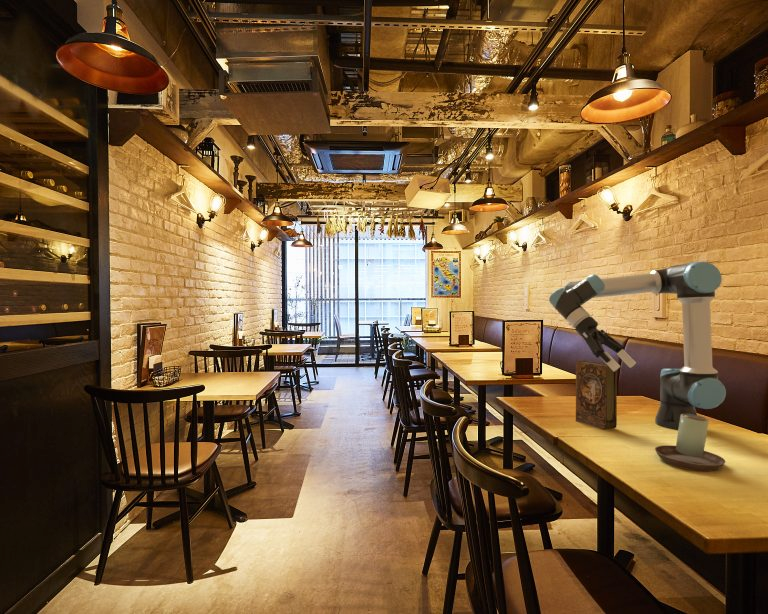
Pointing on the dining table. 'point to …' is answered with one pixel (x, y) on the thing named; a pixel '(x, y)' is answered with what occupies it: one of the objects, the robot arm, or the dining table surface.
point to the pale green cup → (692, 435)
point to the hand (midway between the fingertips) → (625, 367)
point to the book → (596, 394)
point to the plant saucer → (690, 459)
